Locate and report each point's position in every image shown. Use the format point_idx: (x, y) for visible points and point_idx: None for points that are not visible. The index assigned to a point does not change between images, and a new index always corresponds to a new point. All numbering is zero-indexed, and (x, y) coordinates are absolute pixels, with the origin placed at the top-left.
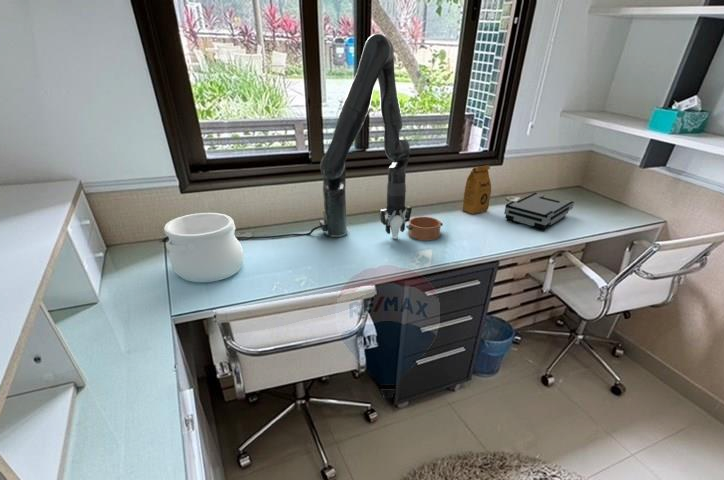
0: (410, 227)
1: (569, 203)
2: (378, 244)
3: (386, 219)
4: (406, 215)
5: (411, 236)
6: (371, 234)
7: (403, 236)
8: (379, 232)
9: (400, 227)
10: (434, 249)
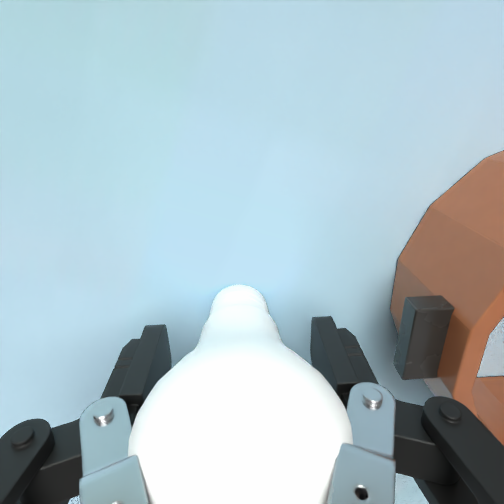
0: (424, 369)
1: None
2: (66, 361)
3: (83, 469)
4: (480, 478)
5: (393, 314)
6: (21, 129)
7: (336, 272)
8: (129, 97)
9: (320, 340)
10: (414, 490)
